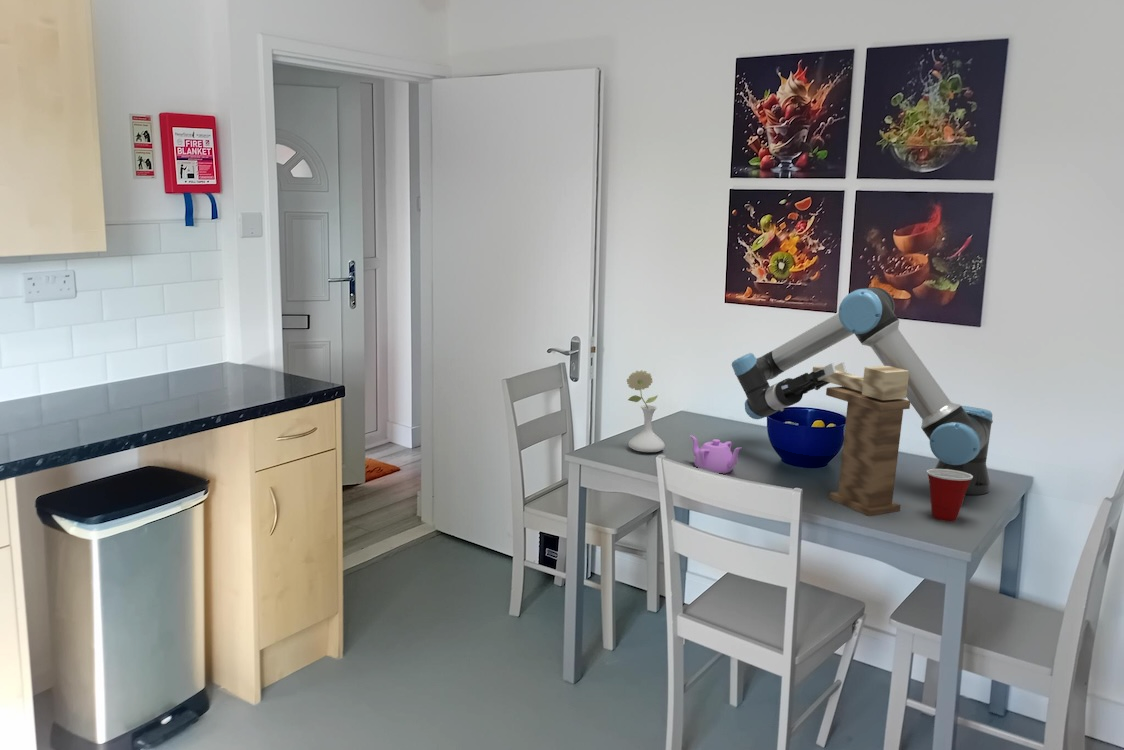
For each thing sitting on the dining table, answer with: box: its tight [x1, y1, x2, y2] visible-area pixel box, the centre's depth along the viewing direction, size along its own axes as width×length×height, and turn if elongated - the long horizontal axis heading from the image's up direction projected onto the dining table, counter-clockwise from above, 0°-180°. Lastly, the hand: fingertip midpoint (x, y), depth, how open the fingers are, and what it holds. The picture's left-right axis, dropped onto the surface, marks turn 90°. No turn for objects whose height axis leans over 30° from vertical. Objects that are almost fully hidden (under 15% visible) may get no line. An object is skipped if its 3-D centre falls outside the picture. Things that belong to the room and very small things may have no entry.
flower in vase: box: [626, 370, 666, 453], centre depth 270 cm, size 13×11×25 cm
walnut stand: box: [825, 386, 911, 517], centre depth 230 cm, size 20×11×29 cm, turn 27°
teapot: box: [689, 434, 742, 475], centre depth 255 cm, size 12×14×9 cm
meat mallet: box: [812, 365, 909, 400], centre depth 231 cm, size 28×8×7 cm, turn 27°
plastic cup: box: [926, 468, 973, 522], centre depth 222 cm, size 11×11×12 cm
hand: (839, 367), depth 236 cm, fingers closed on meat mallet, 3 cm apart
